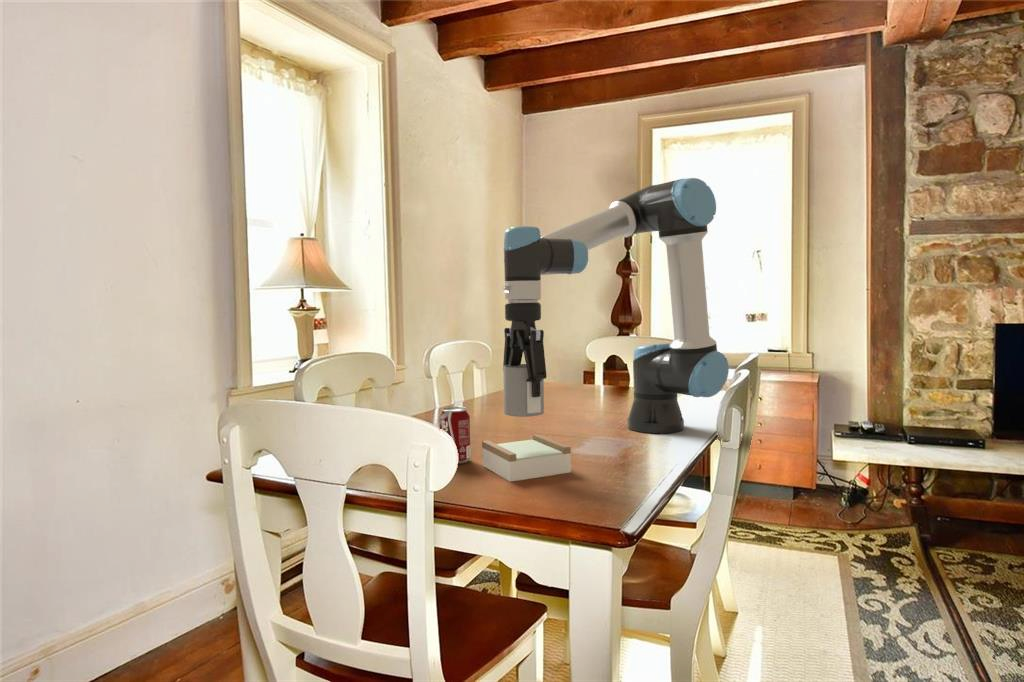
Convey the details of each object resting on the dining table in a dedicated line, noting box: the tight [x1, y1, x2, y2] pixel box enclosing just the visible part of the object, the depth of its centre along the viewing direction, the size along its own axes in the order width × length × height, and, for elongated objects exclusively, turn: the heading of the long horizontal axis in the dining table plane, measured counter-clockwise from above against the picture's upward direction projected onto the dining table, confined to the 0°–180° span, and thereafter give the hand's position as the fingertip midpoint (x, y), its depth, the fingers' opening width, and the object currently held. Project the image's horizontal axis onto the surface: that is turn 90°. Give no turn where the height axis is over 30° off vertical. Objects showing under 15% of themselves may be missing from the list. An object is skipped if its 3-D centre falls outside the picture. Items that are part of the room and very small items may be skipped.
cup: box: [502, 363, 545, 418], centre depth 136 cm, size 8×8×10 cm
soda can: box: [438, 406, 472, 465], centre depth 143 cm, size 7×7×12 cm
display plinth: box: [481, 434, 572, 483], centre depth 137 cm, size 14×14×5 cm
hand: (524, 409), depth 136 cm, fingers closed on cup, 8 cm apart
